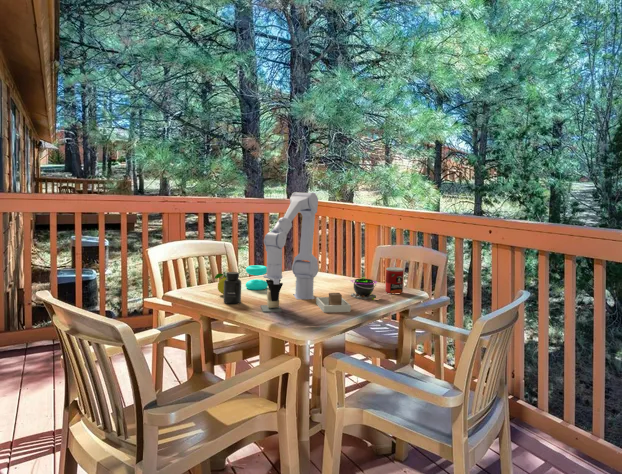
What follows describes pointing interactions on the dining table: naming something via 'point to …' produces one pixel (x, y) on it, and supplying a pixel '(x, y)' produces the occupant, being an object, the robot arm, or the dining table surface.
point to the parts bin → (325, 307)
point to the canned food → (394, 280)
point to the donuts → (256, 283)
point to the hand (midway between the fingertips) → (273, 299)
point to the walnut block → (335, 299)
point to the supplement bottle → (232, 288)
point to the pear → (221, 282)
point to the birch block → (270, 302)
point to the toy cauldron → (363, 288)
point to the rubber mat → (270, 309)
